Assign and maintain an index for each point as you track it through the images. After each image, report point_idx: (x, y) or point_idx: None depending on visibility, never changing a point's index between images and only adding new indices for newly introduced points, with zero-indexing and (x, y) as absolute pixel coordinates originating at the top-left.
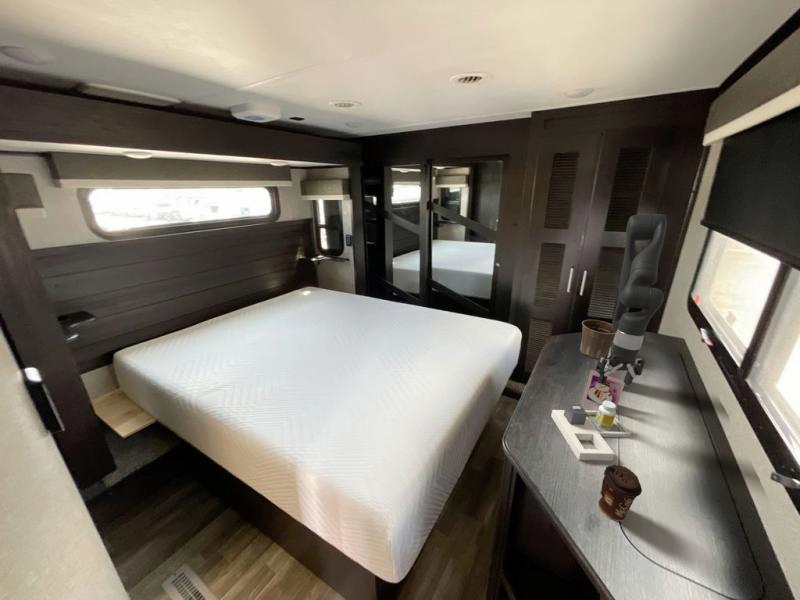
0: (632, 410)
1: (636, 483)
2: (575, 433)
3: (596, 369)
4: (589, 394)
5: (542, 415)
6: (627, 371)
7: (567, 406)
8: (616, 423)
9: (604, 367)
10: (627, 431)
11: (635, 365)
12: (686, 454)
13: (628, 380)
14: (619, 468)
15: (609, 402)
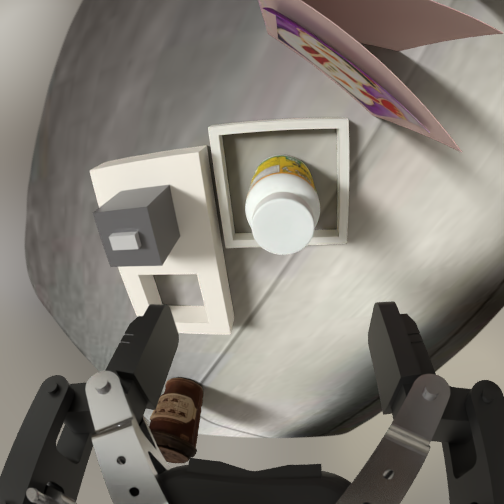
0: (451, 101)
1: (181, 461)
2: (142, 274)
3: (47, 399)
4: (285, 37)
5: (81, 164)
6: (401, 411)
7: (98, 222)
8: (338, 180)
9: (78, 480)
10: (344, 234)
11: (479, 476)
12: (450, 285)
13: (378, 368)
14: (162, 449)
15: (292, 213)
